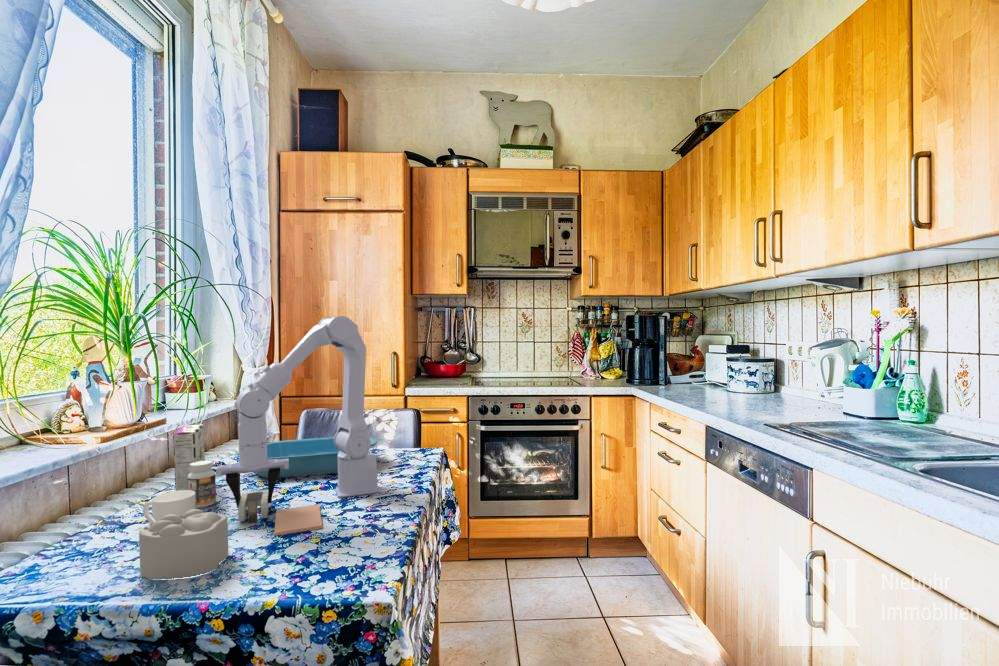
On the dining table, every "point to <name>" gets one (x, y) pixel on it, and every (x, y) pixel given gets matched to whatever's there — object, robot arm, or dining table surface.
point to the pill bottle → (202, 483)
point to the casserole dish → (305, 456)
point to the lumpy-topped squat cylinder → (183, 545)
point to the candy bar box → (187, 452)
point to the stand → (252, 512)
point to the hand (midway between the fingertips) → (254, 504)
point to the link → (247, 497)
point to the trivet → (297, 519)
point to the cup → (170, 504)
